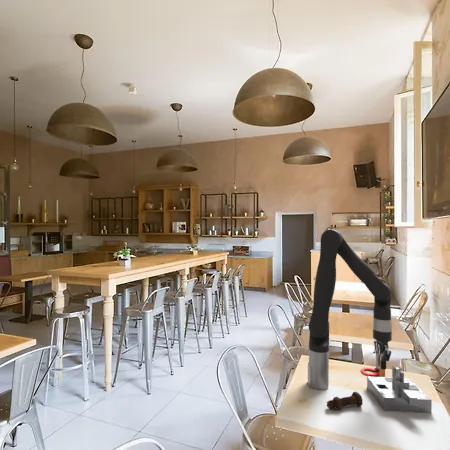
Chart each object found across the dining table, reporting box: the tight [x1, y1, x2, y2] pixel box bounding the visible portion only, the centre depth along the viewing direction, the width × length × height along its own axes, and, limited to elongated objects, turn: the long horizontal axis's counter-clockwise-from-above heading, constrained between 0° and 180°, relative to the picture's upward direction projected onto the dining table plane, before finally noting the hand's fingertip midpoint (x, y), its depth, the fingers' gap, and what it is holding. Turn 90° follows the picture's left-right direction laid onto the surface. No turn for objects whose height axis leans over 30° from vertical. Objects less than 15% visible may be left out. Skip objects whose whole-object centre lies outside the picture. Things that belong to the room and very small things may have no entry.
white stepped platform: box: [366, 365, 433, 414], centre depth 141 cm, size 19×24×14 cm
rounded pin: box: [379, 356, 386, 377], centre depth 144 cm, size 2×2×10 cm
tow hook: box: [360, 354, 380, 377], centre depth 170 cm, size 8×13×9 cm
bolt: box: [326, 391, 363, 411], centre depth 137 cm, size 6×5×15 cm
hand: (382, 367), depth 144 cm, fingers closed on rounded pin, 2 cm apart
